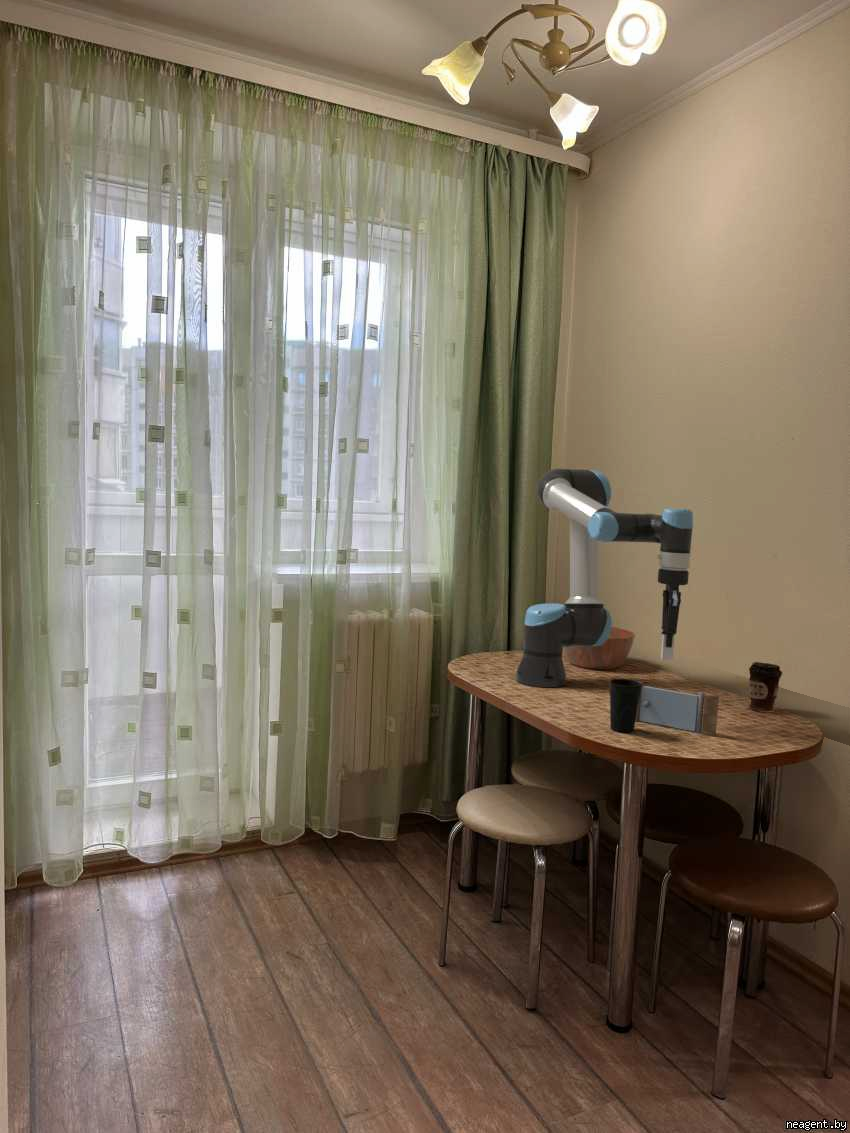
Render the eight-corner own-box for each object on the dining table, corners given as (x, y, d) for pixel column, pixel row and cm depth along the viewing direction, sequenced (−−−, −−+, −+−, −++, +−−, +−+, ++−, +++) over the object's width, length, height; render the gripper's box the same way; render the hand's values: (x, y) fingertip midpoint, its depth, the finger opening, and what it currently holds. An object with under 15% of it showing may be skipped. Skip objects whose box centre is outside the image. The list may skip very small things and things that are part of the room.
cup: (602, 724, 216) (606, 678, 215) (631, 725, 217) (635, 679, 216) (611, 734, 209) (615, 685, 207) (642, 734, 209) (646, 686, 208)
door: (701, 732, 214) (705, 693, 213) (699, 734, 212) (702, 695, 211) (640, 720, 222) (643, 682, 221) (637, 722, 220) (640, 684, 219)
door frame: (626, 719, 222) (629, 681, 221) (629, 717, 224) (632, 680, 223) (713, 736, 211) (717, 696, 210) (715, 734, 213) (719, 695, 212)
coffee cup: (762, 715, 234) (766, 668, 233) (738, 707, 241) (742, 661, 240) (784, 712, 238) (788, 666, 237) (760, 704, 245) (764, 660, 244)
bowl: (543, 664, 285) (546, 630, 284) (575, 653, 305) (578, 621, 304) (614, 677, 271) (617, 641, 270) (643, 665, 291) (646, 632, 290)
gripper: (655, 565, 228) (648, 653, 230) (662, 570, 215) (655, 662, 217) (684, 567, 227) (677, 655, 229) (693, 572, 214) (686, 665, 216)
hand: (666, 658), depth 223 cm, fingers closed
